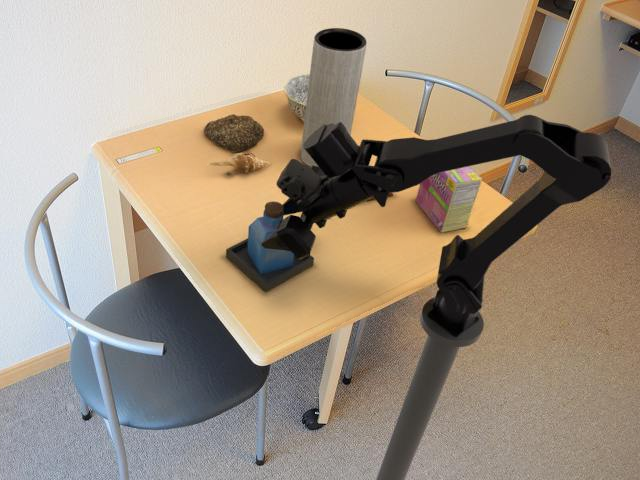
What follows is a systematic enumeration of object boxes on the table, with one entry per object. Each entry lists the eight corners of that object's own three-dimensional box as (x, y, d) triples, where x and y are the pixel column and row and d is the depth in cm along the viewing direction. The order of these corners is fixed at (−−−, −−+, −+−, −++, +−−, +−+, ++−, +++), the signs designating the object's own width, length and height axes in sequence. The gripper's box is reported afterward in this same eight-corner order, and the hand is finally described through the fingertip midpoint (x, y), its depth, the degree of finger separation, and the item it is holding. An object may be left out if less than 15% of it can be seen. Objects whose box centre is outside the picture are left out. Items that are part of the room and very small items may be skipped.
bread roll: (230, 158, 142) (231, 138, 138) (196, 132, 149) (196, 113, 145) (275, 138, 148) (276, 119, 145) (240, 115, 155) (241, 96, 151)
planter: (292, 150, 145) (305, 31, 126) (331, 141, 148) (350, 24, 129) (313, 175, 138) (330, 54, 120) (354, 165, 141) (377, 46, 123)
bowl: (272, 104, 159) (275, 76, 154) (334, 97, 162) (338, 69, 157) (294, 140, 148) (297, 110, 143) (359, 132, 151) (364, 103, 146)
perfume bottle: (278, 244, 121) (283, 193, 113) (292, 266, 117) (298, 214, 109) (247, 252, 119) (250, 200, 111) (260, 274, 115) (264, 222, 107)
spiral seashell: (256, 156, 143) (257, 138, 140) (271, 167, 140) (272, 149, 137) (205, 177, 137) (205, 159, 134) (219, 189, 134) (219, 170, 131)
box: (414, 201, 133) (427, 152, 125) (438, 196, 134) (453, 148, 126) (440, 233, 126) (456, 184, 118) (466, 228, 127) (483, 179, 119)
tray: (313, 265, 118) (314, 257, 117) (265, 292, 113) (266, 284, 112) (272, 233, 124) (273, 225, 123) (225, 257, 119) (226, 249, 118)
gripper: (325, 124, 107) (257, 165, 117) (296, 188, 94) (222, 229, 104) (364, 174, 111) (295, 210, 121) (341, 242, 98) (266, 276, 108)
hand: (270, 229), depth 113 cm, fingers open, 9 cm apart
